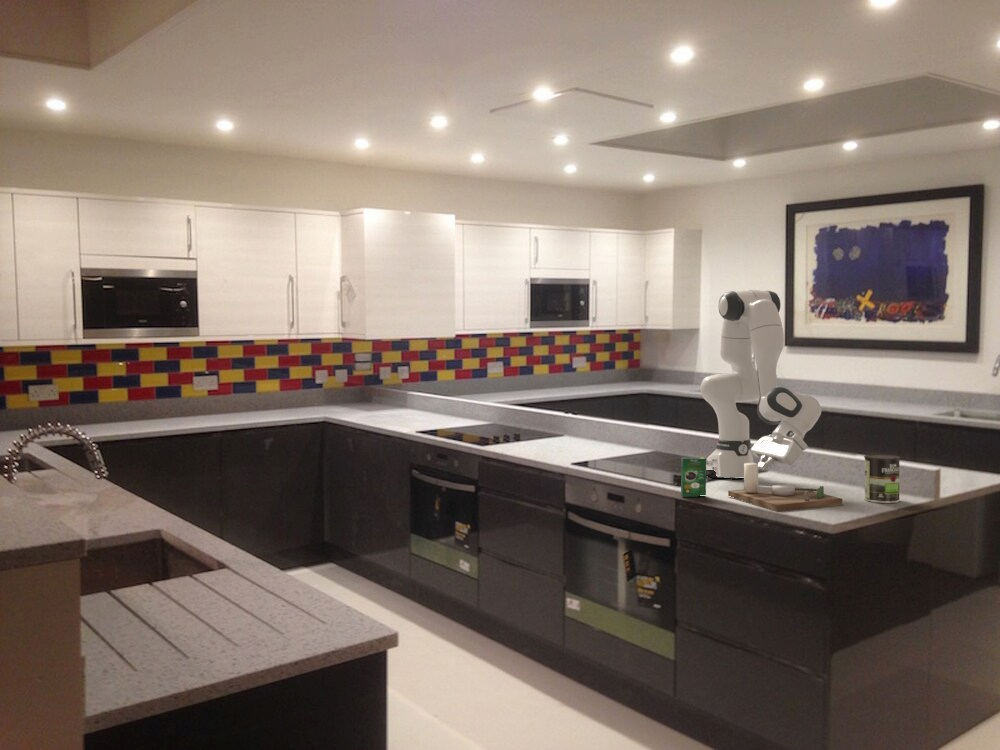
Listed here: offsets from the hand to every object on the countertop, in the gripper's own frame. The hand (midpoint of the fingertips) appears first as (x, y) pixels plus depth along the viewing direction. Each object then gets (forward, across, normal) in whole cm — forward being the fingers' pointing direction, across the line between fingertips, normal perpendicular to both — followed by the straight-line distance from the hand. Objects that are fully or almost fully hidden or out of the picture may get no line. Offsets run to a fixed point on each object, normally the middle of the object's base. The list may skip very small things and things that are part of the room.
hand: (760, 468), depth 282 cm
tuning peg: (+4, +9, +5) cm, 11 cm away
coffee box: (+21, -8, -8) cm, 24 cm away
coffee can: (-15, +22, +28) cm, 38 cm away
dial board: (+5, +10, +8) cm, 13 cm away
